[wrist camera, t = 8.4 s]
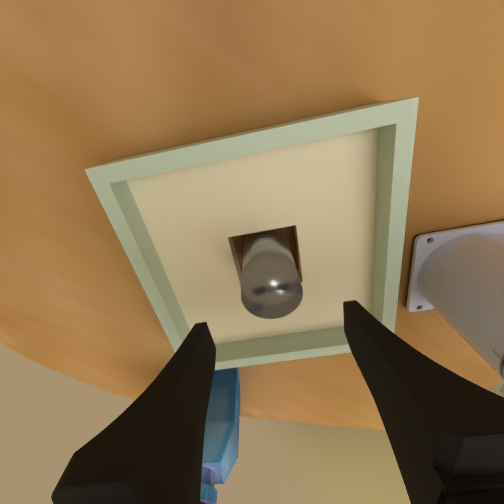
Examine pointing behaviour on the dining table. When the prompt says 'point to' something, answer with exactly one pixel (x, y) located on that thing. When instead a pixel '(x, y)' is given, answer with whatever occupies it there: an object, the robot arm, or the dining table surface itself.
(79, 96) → the dining table surface
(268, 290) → the peg
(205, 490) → the perfume bottle
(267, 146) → the box
